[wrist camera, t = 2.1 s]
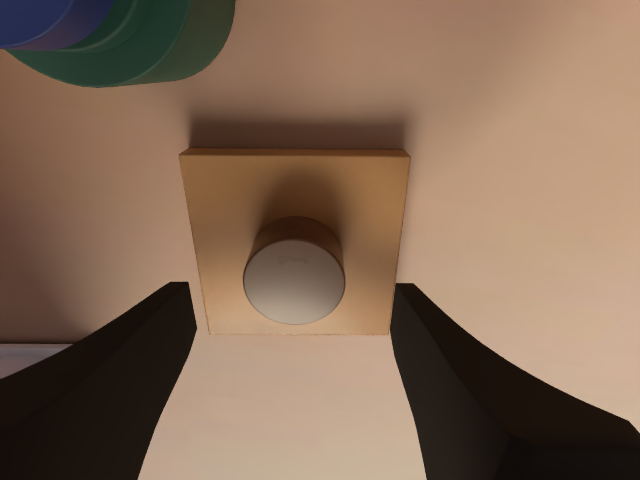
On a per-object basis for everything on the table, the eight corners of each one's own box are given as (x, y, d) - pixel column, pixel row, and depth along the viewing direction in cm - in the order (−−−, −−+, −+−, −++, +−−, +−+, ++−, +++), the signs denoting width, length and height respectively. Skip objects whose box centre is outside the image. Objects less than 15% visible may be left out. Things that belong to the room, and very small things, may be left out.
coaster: (384, 320, 19) (388, 335, 17) (215, 319, 18) (208, 335, 17) (404, 149, 15) (411, 156, 13) (188, 147, 14) (177, 154, 13)
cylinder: (340, 294, 16) (344, 325, 14) (255, 294, 16) (246, 325, 14) (344, 215, 15) (348, 238, 13) (248, 215, 14) (237, 238, 13)
